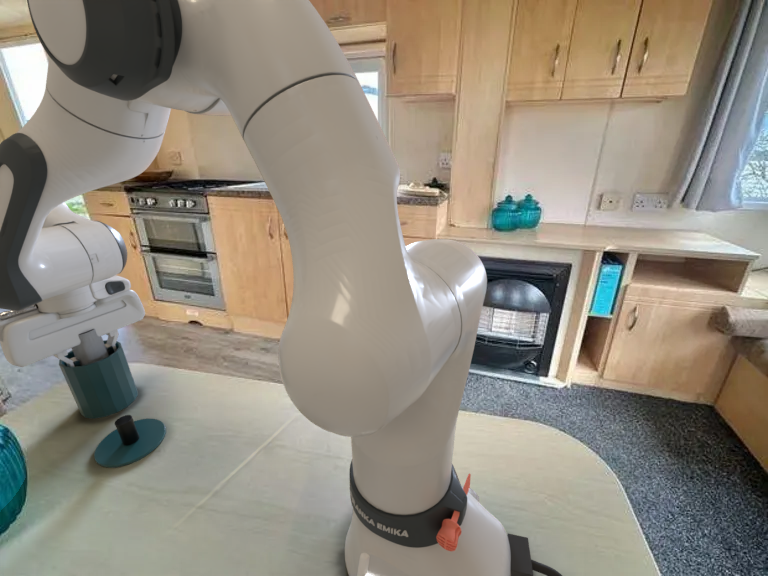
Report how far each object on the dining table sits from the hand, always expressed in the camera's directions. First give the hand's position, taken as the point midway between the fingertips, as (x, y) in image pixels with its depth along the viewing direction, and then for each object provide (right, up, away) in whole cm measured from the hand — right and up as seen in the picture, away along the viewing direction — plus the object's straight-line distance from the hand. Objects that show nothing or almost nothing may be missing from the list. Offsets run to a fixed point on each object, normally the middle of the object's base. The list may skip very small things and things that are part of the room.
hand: (94, 360), depth 66 cm
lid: (+11, -13, -6) cm, 18 cm away
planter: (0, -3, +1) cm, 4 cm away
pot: (0, -10, +4) cm, 11 cm away
